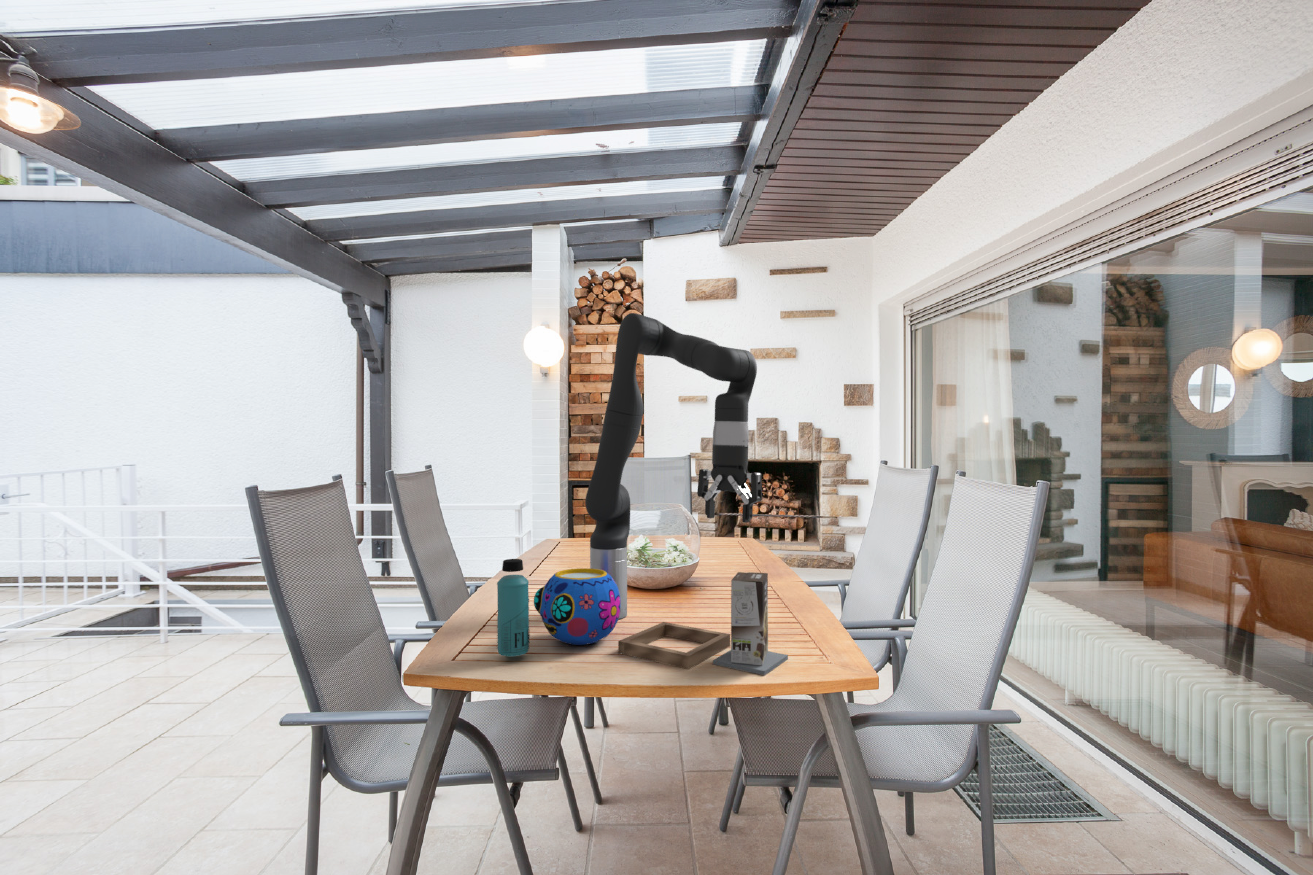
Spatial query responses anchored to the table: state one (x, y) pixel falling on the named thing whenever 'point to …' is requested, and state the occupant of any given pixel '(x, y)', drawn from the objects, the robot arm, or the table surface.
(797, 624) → the table surface
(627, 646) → the board
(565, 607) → the ceramic pot
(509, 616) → the beverage bottle
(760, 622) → the coffee box
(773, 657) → the slate mat
